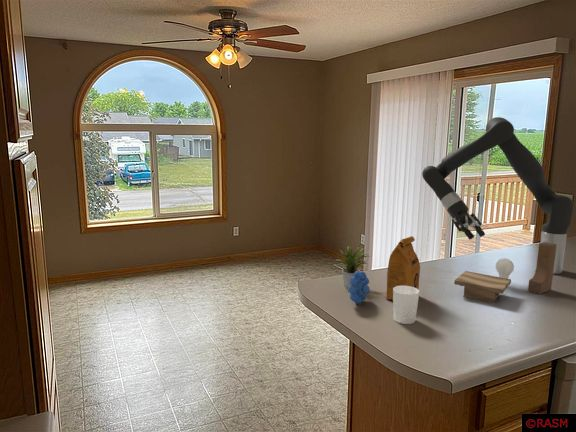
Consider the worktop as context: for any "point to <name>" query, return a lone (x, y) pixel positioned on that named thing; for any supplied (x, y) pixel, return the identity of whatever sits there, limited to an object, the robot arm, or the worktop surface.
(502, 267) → the lightbulb
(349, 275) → the house plant
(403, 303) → the white cup
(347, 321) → the worktop surface
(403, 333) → the worktop surface
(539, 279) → the wooden block
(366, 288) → the grapes
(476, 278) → the stand
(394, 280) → the coffee package
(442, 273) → the worktop surface
